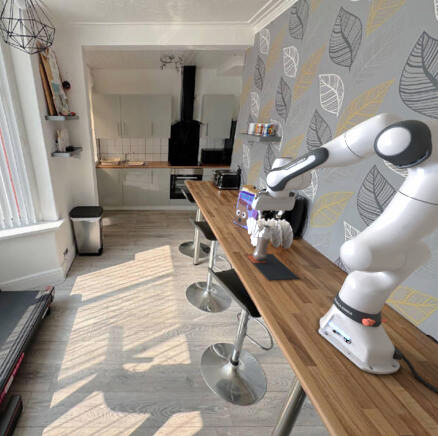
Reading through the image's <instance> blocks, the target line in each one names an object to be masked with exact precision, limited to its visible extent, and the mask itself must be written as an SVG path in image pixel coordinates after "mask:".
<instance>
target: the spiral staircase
mask: <svg viewBox="0 0 438 436" xmlns="http://www.w3.org/2000/svg"><path fill="white" fill-rule="evenodd" d="M246 222H247V226H248V230H247V234H248V235H250V237H249V238H250V240H251V242H250V244H251V245H252V247H256V245H257V237H258V233H259V232H260V231H261V230H263V229H262V228H263V226H264V225H268V226H271V231H270V233H271V235H272V238H271V240H270V242H269V244H270V243H271V247H274V249H277V248H279V247H280V246H281V247H283V249H284V250H287V249H290V248H291V246H292V245H293V239H294V232H293V231H294V230H293V228H292V226H291V223H290V222H288V221H287V220H286V218H284V219H282V220H281V218H278V220H276V219H275V217H272V218H271V219H270V218H267V220H266V218H264V217H263V218H261V219H260V218H259V219H258V221H256V220H255V219H254V217H252V218H250V217H249V218H248V219H247V221H246Z"/></svg>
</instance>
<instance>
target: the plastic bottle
mask: <svg viewBox="0 0 438 436" xmlns="http://www.w3.org/2000/svg"><path fill="white" fill-rule="evenodd" d="M262 229H263V230H261V231H260V232H259V233H258V237H257V245H256V246H255V248H254V250H253V252H252V255H253V259H254V260H256V261H259V262H263V261H264V260H265V259H266V254H268V249H269V248H268V247H269V245H270V243H271V241H270V240H271V238H272V235H271V233H270V231H271V226H268V225H264V226H263V228H262ZM269 242H270V243H269Z"/></svg>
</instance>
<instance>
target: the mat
mask: <svg viewBox="0 0 438 436" xmlns="http://www.w3.org/2000/svg"><path fill="white" fill-rule="evenodd" d="M245 256H246V257H247V259H248V260H250V262H251V263H252V264H253V265H254V266H255V267H256V268H257V269H258V270H259V271H260V273H261V274H262V275H263V276H264V277H265V278H266V279H267V280H268V281H289V280H290V281H291V280H300V277H299V276H298V275H296V274H295V273H294V272H293V271H292V270H291V269H290V268H289V267H287V265H285V264H284V263H283V262H282V261H281V260H280V259H279V258H278V257H276V256H275V255H274V254H273V253H266V259H265V260H264V261H263V262H259V261H256V260H254V259H253V254H245Z"/></svg>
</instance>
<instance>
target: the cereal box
mask: <svg viewBox="0 0 438 436" xmlns="http://www.w3.org/2000/svg"><path fill="white" fill-rule="evenodd" d="M255 194H256V193H255ZM255 194H254V193H251V192H249V191H246V190H241V191H239V193H238V198H237V203H236V207H235V212H234V217H233V221H232V222H233V224H236V225H237V226H239V227H241V228H243V229H245V230H247V231H248V226H247V222H246V221H247V219H248V218H249V217H250V218H252V217H254V219H255V220H256V221H258V219H259V218H258V216H259V213H258V210H254V209H253V208H252V203H253V200H254V197H255ZM261 213H262V214H263V212H261Z"/></svg>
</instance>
